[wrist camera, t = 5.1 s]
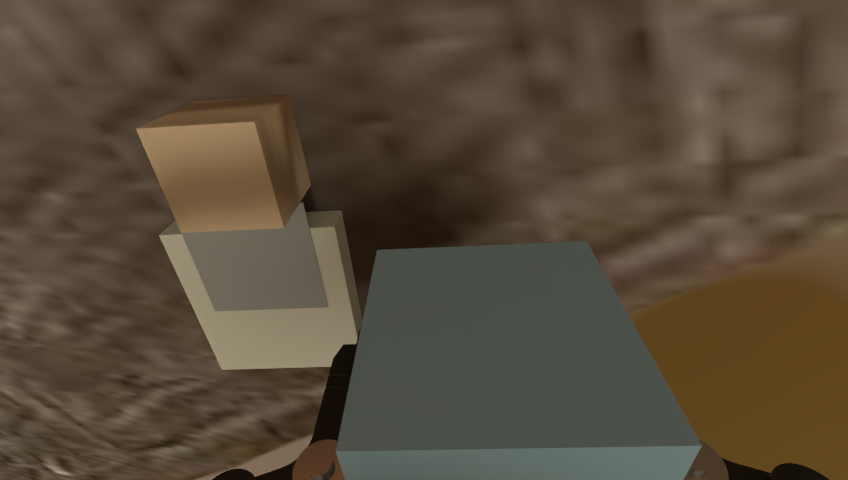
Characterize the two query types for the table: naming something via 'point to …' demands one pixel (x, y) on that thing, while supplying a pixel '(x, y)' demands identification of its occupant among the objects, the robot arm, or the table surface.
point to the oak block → (229, 163)
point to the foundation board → (271, 290)
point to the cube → (505, 373)
